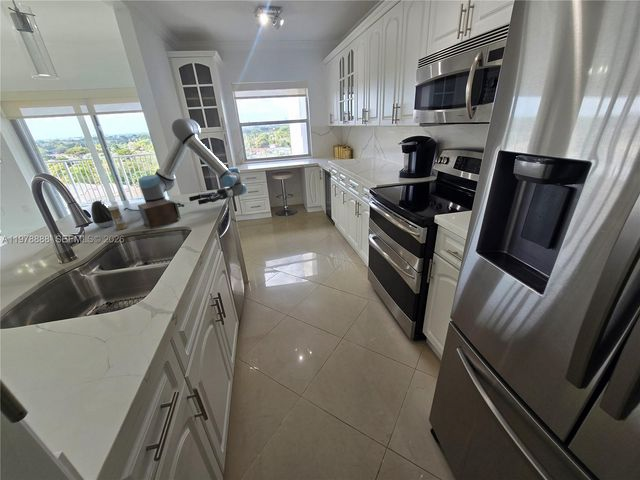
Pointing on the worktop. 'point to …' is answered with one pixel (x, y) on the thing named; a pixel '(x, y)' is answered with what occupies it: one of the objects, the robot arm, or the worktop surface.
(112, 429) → the worktop surface
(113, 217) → the sprinkles bottle
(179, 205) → the drawer
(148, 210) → the cabinet
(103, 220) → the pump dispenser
